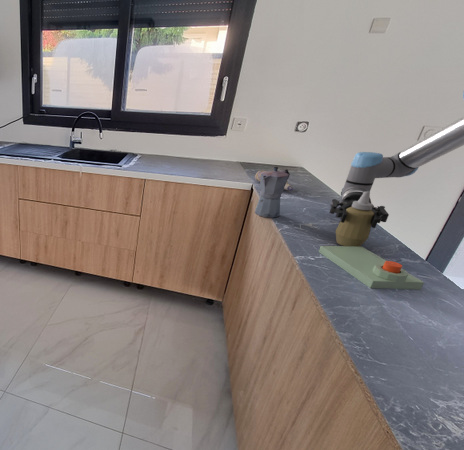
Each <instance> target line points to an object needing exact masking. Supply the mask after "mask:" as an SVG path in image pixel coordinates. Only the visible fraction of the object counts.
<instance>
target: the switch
mask: <svg viewBox="0 0 464 450" xmlns="http://www.w3.org/2000/svg"><path fill="white" fill-rule="evenodd" d="M382 269H384V270H385V271H388V272H392V273H400V270H401V269H403V265H402V264H401V263H398V262H396V261H392V260H386V261H385V263H384V265H383V268H382Z"/></svg>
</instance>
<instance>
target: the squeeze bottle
mask: <svg viewBox="0 0 464 450" xmlns="http://www.w3.org/2000/svg"><path fill="white" fill-rule="evenodd" d="M370 194H371V191H370V192H368V191H365V192H364V193H363V195H362V196H361V198H360V199H359V200H358V201H354V202H353V204H352V207H349V208H347V209H346V211H347V216H346V219H345V221H344V223H342V222H341V220H340V221H339V222H338V225H337V227H336V229H335V239H336V243H337V244H338V245H339V246H353V247H362V245H363V244H364V243H365V242H366V241H367V240H369V237H370V233H371V229H372V227H371V221H372V218H373V215H374V212H373V211H371V209H372V207H373V205H374V204H373V203H372V202H371V203H369V197H370V198H371V195H370Z"/></svg>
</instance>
